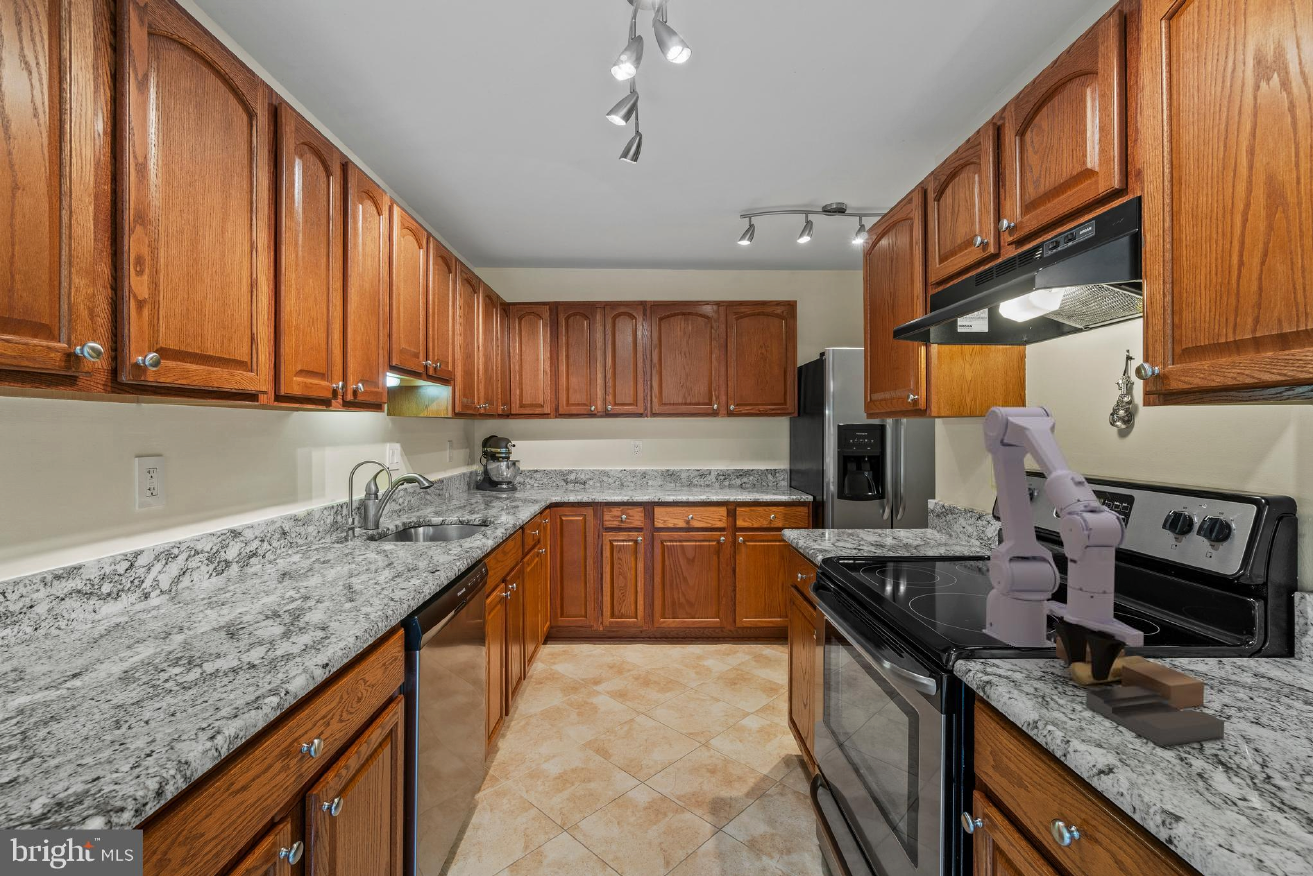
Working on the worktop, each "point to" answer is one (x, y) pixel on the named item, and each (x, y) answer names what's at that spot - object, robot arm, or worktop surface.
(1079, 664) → the axle
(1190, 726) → the v block
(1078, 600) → the robot arm
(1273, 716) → the worktop surface
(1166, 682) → the beam
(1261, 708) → the worktop surface
